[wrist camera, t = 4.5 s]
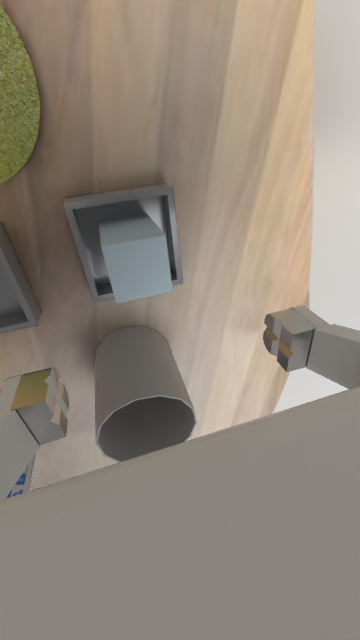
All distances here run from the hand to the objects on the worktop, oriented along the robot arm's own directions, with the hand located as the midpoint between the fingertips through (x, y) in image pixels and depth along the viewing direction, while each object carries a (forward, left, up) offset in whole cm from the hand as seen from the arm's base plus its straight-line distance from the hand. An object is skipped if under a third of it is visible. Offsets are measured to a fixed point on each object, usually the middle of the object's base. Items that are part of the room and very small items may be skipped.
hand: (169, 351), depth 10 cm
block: (0, 0, -16) cm, 16 cm away
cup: (-13, +2, -17) cm, 21 cm away
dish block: (0, 0, -16) cm, 16 cm away
